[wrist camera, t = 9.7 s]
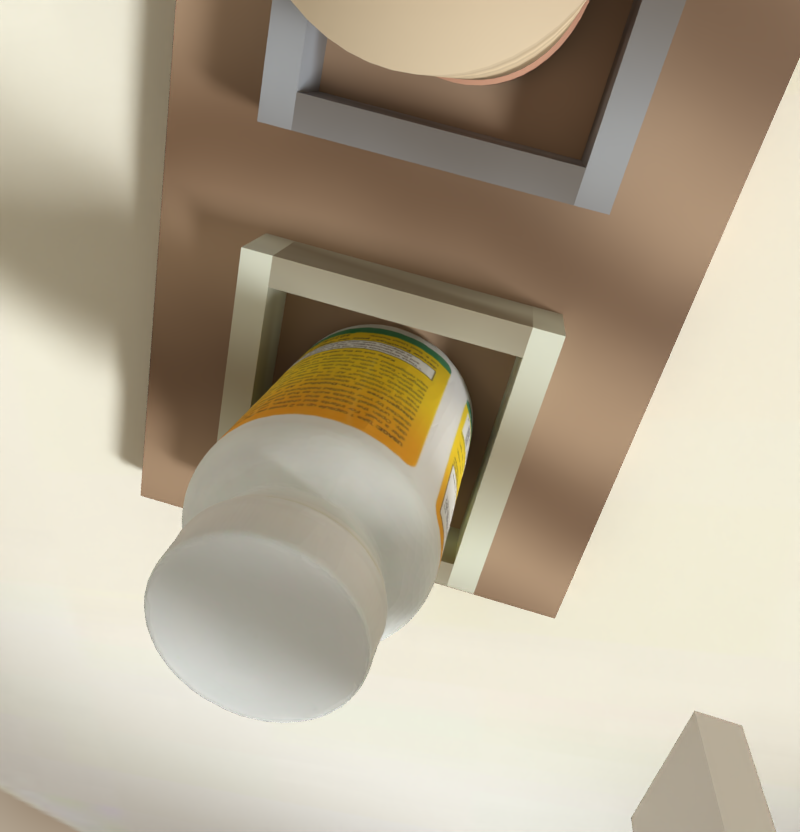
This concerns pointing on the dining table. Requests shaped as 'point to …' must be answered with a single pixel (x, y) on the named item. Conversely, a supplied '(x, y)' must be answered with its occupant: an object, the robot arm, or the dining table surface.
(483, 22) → the beech dowel
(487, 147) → the socket board
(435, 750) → the dining table surface
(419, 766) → the dining table surface
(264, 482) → the supplement bottle
